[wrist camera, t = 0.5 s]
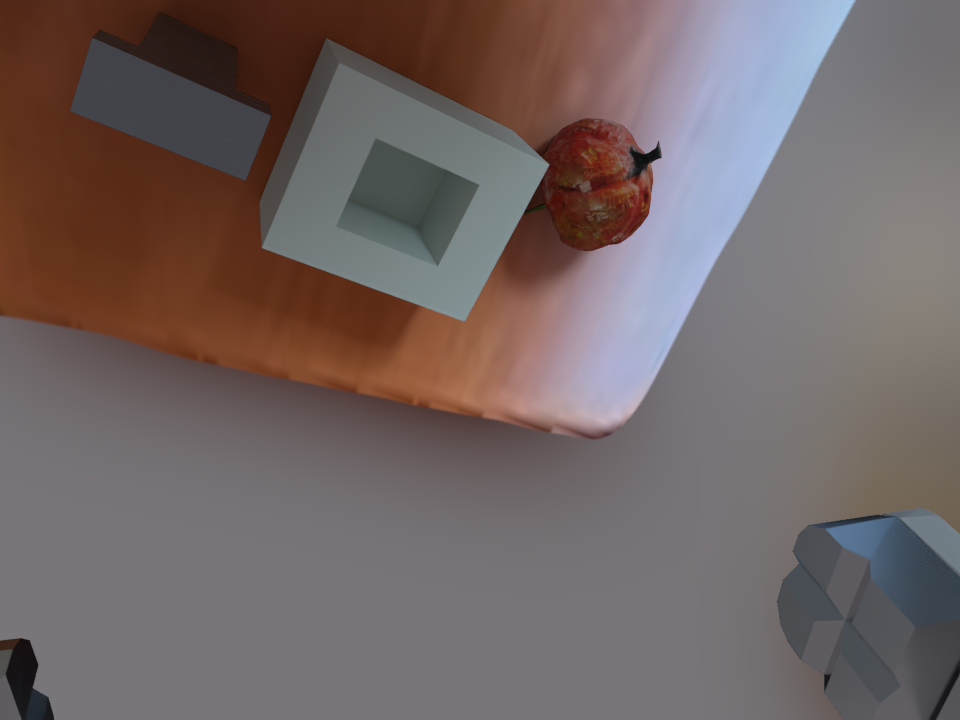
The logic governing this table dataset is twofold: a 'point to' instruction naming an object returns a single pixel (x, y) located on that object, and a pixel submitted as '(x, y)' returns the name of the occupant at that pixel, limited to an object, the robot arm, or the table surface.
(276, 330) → the table surface
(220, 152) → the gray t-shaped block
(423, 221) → the well block
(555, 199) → the pomegranate
